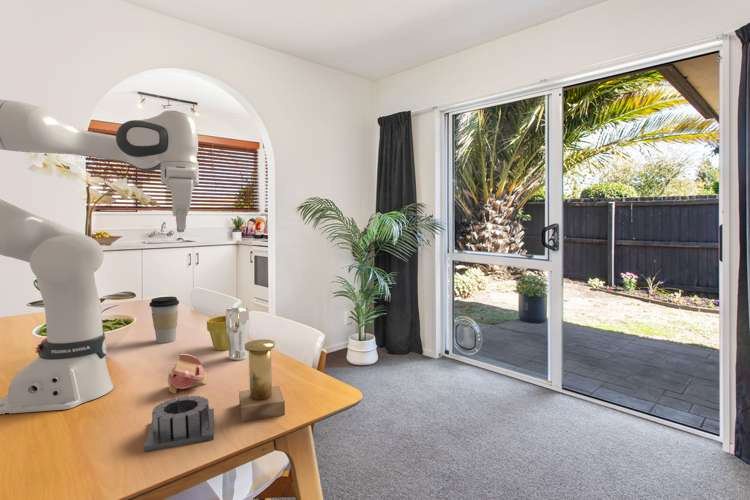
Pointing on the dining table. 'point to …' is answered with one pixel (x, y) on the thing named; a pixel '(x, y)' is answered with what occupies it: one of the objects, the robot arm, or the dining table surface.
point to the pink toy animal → (186, 373)
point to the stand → (261, 405)
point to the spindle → (260, 369)
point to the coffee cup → (165, 318)
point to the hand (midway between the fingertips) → (181, 230)
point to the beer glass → (237, 332)
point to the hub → (180, 423)
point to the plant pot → (218, 332)
